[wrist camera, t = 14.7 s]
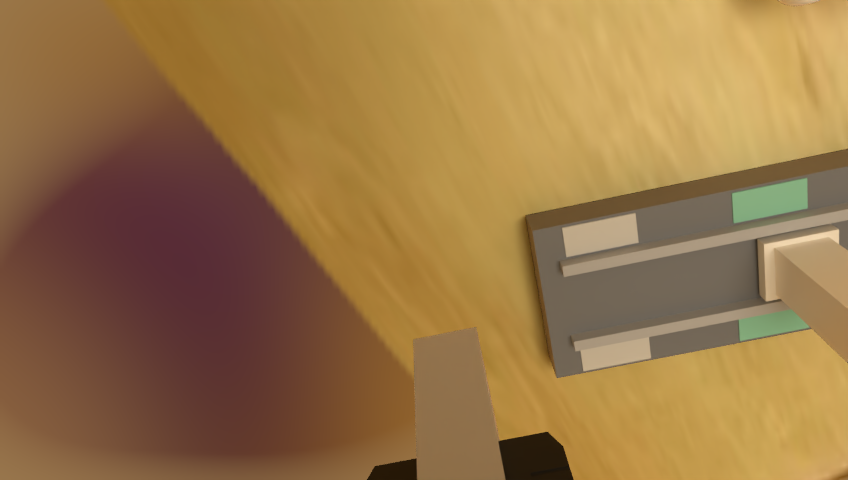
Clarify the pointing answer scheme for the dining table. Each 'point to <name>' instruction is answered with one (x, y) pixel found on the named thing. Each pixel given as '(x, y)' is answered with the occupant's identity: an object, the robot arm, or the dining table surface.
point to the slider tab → (809, 280)
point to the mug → (797, 2)
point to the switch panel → (675, 263)
